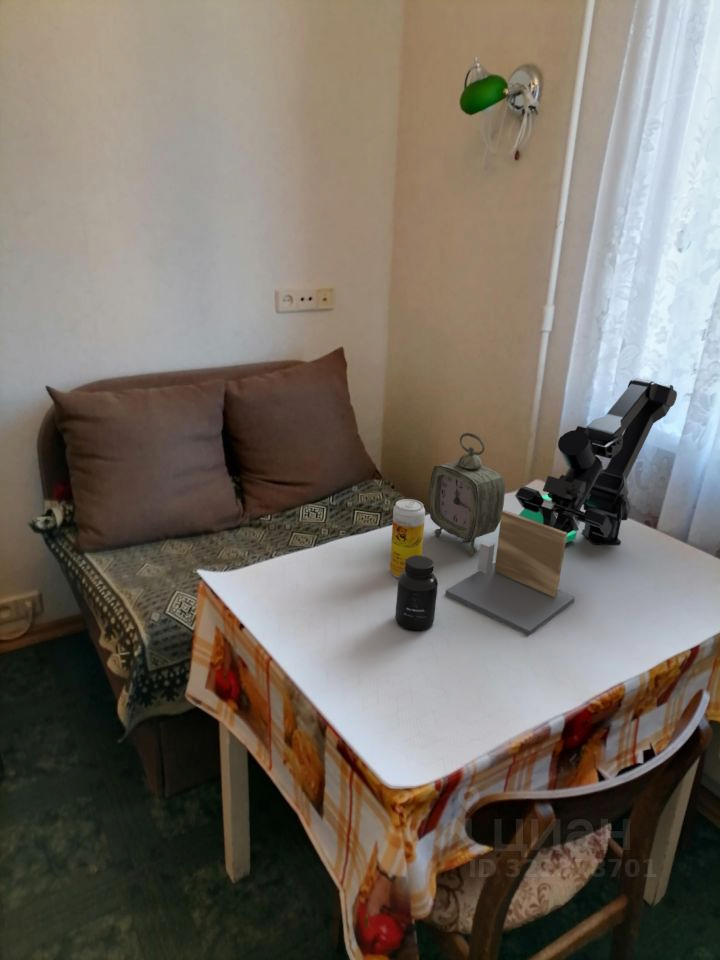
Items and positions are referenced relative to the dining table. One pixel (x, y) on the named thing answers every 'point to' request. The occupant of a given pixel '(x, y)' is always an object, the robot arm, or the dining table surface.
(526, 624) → the housing stand
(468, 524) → the tabletop clock
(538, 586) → the door
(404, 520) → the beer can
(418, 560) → the supplement bottle
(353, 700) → the dining table surface
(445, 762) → the dining table surface
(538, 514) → the camera mount
